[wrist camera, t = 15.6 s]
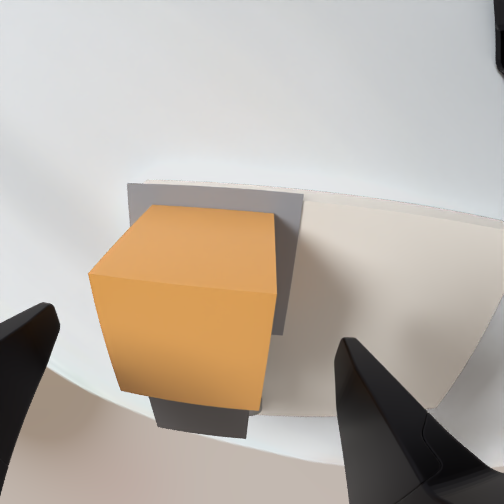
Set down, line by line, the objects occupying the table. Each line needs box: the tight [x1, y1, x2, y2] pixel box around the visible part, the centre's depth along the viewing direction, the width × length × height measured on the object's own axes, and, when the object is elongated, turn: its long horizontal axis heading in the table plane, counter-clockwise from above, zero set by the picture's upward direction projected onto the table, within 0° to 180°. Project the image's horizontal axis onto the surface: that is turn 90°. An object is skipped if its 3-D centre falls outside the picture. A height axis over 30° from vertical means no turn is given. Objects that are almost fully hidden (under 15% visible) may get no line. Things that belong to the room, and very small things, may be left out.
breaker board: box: [127, 180, 504, 417], centre depth 14 cm, size 18×13×2 cm
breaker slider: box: [149, 397, 249, 439], centre depth 13 cm, size 4×3×4 cm
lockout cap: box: [88, 205, 277, 411], centre depth 10 cm, size 4×4×5 cm
